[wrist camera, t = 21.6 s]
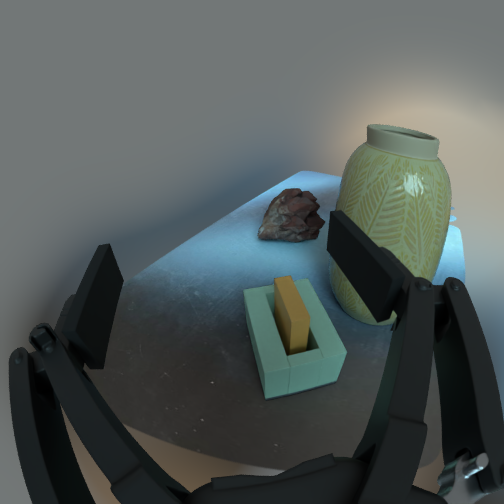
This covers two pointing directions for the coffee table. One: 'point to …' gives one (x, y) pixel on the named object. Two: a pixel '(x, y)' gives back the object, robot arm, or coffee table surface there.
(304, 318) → the toast
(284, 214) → the mineral specimen
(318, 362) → the toaster
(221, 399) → the coffee table surface
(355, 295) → the vase
